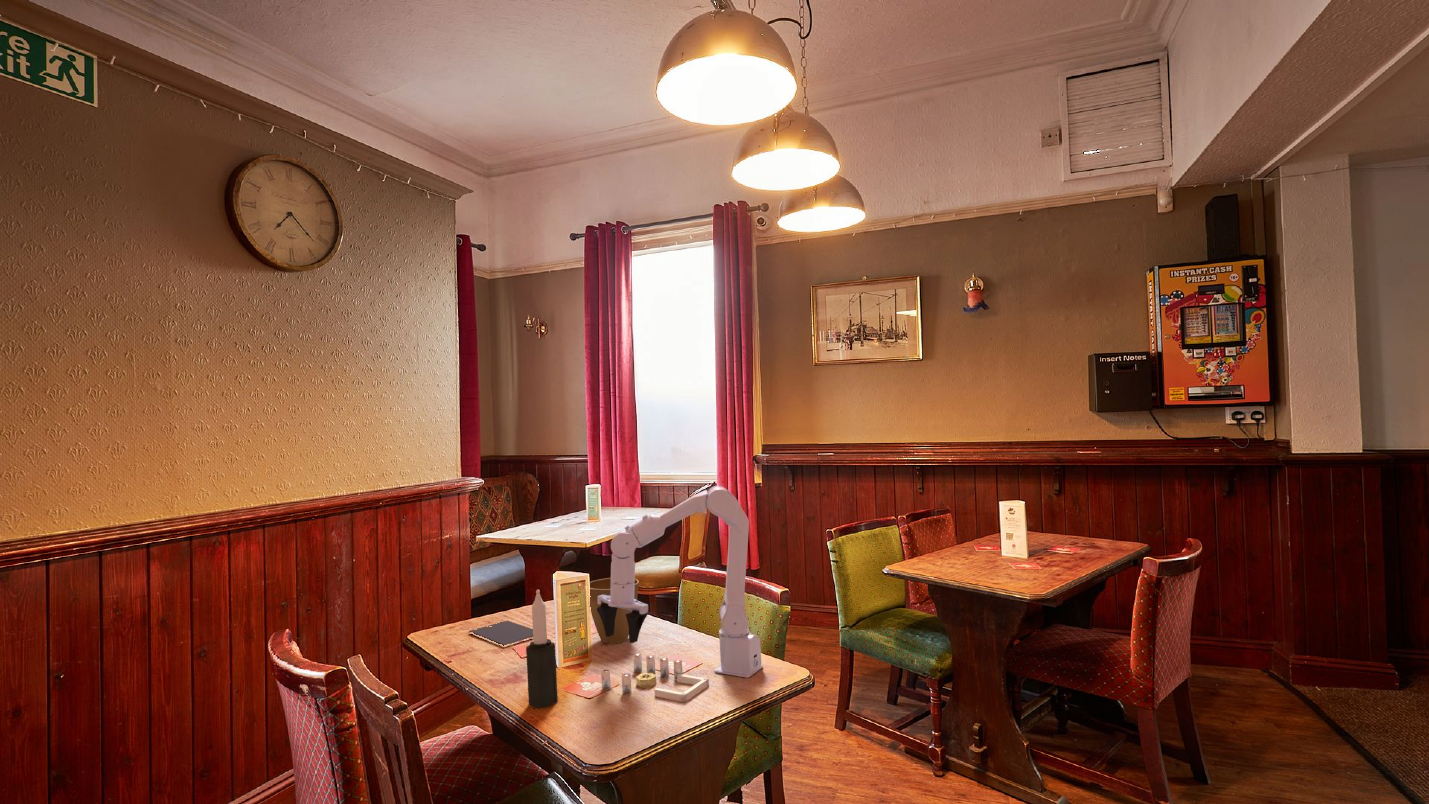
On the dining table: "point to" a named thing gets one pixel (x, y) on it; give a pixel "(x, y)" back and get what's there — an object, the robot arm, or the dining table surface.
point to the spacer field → (638, 668)
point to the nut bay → (683, 697)
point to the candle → (541, 660)
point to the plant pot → (620, 620)
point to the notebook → (504, 632)
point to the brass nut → (646, 680)
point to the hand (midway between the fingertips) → (621, 638)
